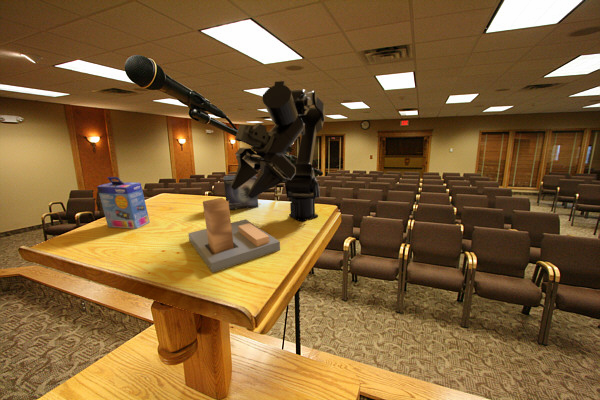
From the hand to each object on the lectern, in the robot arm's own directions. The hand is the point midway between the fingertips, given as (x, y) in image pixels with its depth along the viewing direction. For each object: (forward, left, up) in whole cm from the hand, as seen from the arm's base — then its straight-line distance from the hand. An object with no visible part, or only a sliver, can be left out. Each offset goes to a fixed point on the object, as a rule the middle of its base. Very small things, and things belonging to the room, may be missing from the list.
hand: (240, 192), depth 56 cm
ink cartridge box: (+21, -35, -13) cm, 43 cm away
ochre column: (+6, 0, -13) cm, 14 cm away
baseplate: (+2, -3, -13) cm, 13 cm away
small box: (-12, -30, -13) cm, 35 cm away
